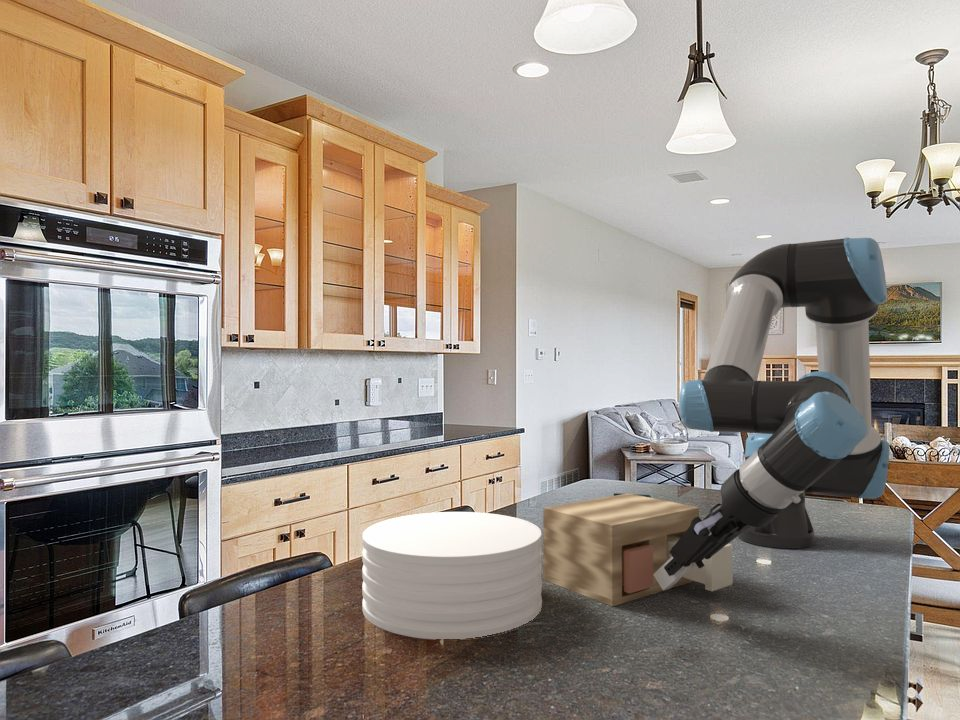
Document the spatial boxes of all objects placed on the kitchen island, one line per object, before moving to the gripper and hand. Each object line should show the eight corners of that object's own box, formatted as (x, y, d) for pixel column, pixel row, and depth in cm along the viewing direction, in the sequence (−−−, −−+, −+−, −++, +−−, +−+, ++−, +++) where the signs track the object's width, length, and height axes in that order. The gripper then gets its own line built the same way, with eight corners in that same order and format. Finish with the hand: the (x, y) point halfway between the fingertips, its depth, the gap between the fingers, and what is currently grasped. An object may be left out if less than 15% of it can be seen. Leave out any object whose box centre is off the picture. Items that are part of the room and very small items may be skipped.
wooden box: (699, 579, 115) (699, 507, 115) (612, 606, 102) (612, 525, 102) (628, 557, 128) (628, 493, 128) (543, 579, 115) (543, 507, 115)
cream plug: (732, 584, 107) (732, 544, 107) (711, 591, 104) (711, 550, 104) (648, 559, 121) (648, 524, 121) (627, 564, 118) (627, 528, 118)
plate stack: (578, 603, 104) (577, 530, 104) (447, 659, 84) (446, 569, 84) (456, 566, 124) (456, 504, 124) (326, 604, 104) (326, 531, 104)
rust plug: (653, 586, 106) (653, 546, 106) (629, 593, 103) (629, 552, 103) (577, 561, 120) (577, 525, 120) (554, 566, 117) (554, 530, 117)
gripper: (751, 518, 82) (646, 613, 95) (806, 505, 89) (702, 595, 103) (713, 470, 86) (618, 567, 100) (769, 461, 94) (674, 553, 107)
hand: (661, 581), depth 101 cm, fingers closed
